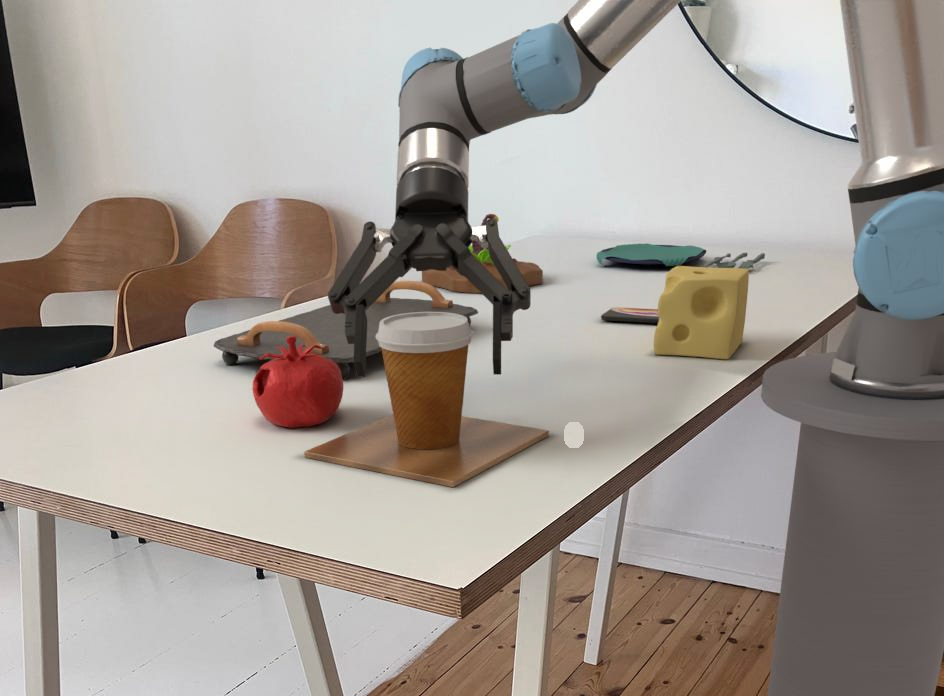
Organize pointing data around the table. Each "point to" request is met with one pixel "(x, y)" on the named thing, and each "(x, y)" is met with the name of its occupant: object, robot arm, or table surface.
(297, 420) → the pomegranate
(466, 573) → the table surface
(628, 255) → the cutlery set
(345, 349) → the serving tray
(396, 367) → the disposable coffee cup
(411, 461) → the wooden board
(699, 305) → the cheese
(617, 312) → the smartphone
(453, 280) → the plant
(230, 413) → the table surface
